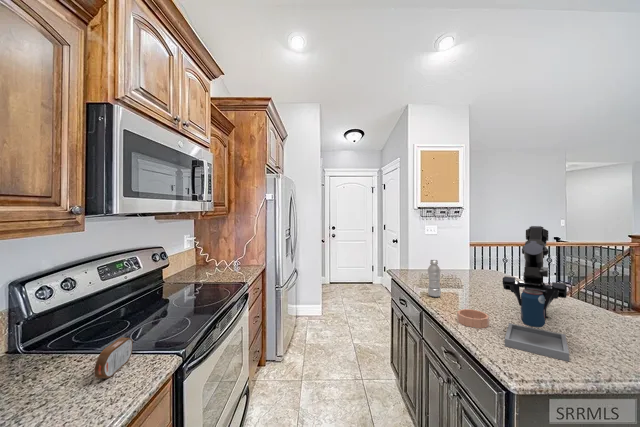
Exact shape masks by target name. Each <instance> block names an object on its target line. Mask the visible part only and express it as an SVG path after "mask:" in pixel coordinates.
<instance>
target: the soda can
mask: <svg viewBox="0 0 640 427" xmlns="http://www.w3.org/2000/svg"><path fill="white" fill-rule="evenodd" d="M520 297H521V306H520V319H521V322H522V324H524V325H525V326H526V327H531V328H536V329H541V328H543V327H544V326H545V324H546V318H545V309H544V308H545V297H544V295H543V292H541V291H538V290H533V289H525V288H524V289H522V291H521V292H520Z"/></svg>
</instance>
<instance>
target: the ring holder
mask: <svg viewBox="0 0 640 427" xmlns="http://www.w3.org/2000/svg"><path fill="white" fill-rule="evenodd" d="M456 312H457V313H456V319H457V322H458V323H459V324H461V325H463V326H466V327H469V326H470V327H469V328H473V327H475V328H474V329H484V328H488V327H489V326H490V316H489V315H488V314H487V313H486V312H483V311H481V310H476V309H470V308H469V309H468V308H463V309H459V310H457V311H456Z"/></svg>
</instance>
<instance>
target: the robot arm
mask: <svg viewBox="0 0 640 427" xmlns="http://www.w3.org/2000/svg"><path fill="white" fill-rule="evenodd" d="M525 240H526V241H525V243H524V245H522V248H521V254H522V255H524V256H523V258H524V269H523V270H524V272H523V277H522V279H523V281H519V280H517V279H516V277H513V276H504V277H503V278H502V286H503V290H506V291H510V292H511V293H513V294H514V295H515V297H516V300H517V303H518V305H519V306H520V307H521V291H520V290H521V289H520V288H524V289H533V290H538V291H541V292H543V295H544V297H545V308H544V309H545V319H549V316H548V315H547V309H548V308H549V306H550V305H551V303H552V301H554V300H555V299H559V298H561V299H567V298H568V297H567V295H568V286H567V285H568V284H566V283H563V282H555V281H552V282H551V285H550V284H549V285H547V284H545V282H544V278H548V277H549V267H547V266H544V259H545V256H548V254H549V249H548V247H547V242H549V230H547V229H545V228H544V227H543V226H541V225H540V226H539V225H531V226H529V228H527V229H526V230H525Z"/></svg>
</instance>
